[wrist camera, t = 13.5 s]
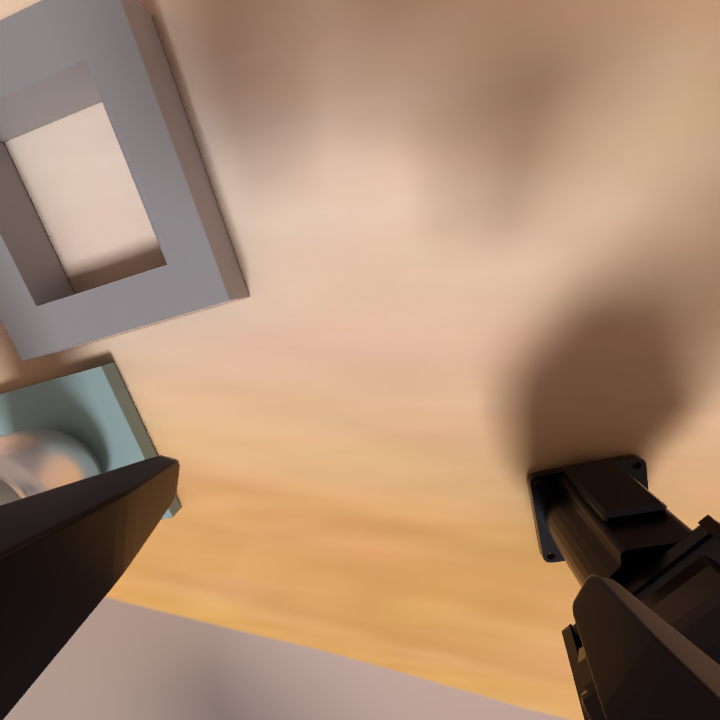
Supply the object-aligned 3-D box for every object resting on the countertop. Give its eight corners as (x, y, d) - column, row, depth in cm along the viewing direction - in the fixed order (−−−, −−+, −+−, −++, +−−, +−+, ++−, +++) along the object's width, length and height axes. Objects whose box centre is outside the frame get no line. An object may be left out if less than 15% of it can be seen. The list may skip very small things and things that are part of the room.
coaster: (181, 507, 23) (172, 517, 22) (53, 532, 25) (40, 542, 24) (114, 362, 21) (101, 366, 20) (-24, 400, 23) (-42, 406, 22)
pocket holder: (249, 296, 19) (229, 300, 17) (63, 351, 21) (21, 361, 19) (151, 14, 16) (108, -32, 14) (-58, 107, 18) (-127, 81, 15)
